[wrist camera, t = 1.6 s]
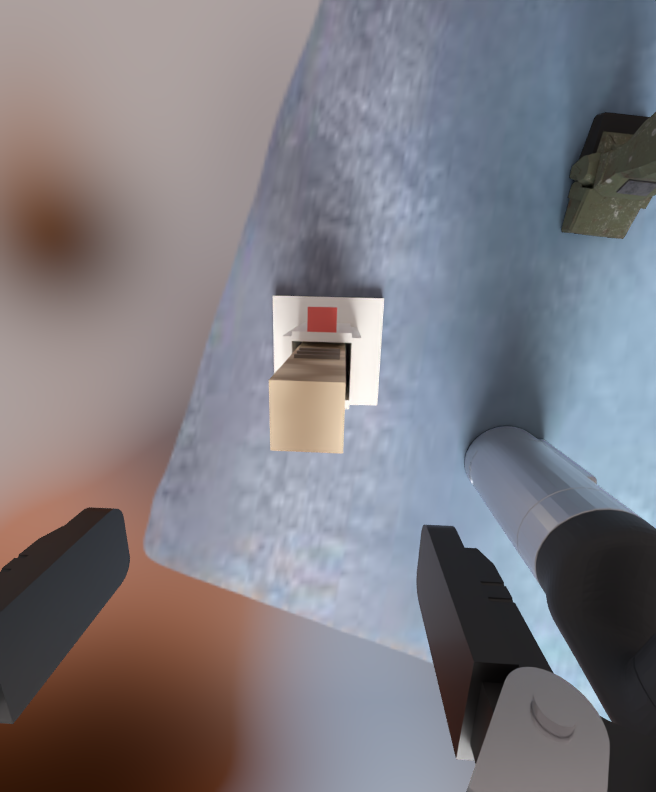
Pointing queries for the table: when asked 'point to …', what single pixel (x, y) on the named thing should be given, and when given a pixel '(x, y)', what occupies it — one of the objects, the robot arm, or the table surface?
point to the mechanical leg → (612, 176)
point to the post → (309, 399)
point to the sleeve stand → (334, 336)
